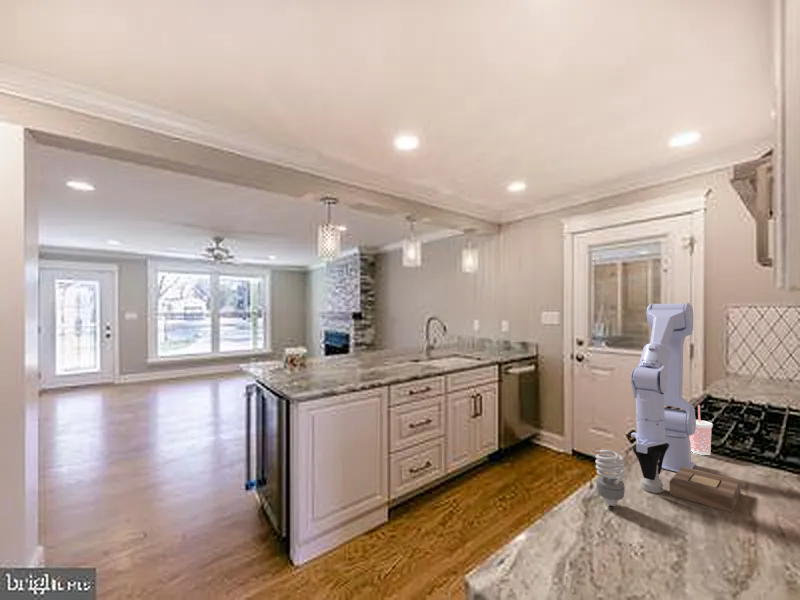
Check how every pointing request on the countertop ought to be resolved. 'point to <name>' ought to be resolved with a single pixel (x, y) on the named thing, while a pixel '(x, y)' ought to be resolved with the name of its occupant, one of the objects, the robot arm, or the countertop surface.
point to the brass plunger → (705, 481)
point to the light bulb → (610, 476)
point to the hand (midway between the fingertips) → (651, 475)
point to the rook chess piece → (653, 484)
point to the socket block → (706, 489)
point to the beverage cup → (701, 437)
